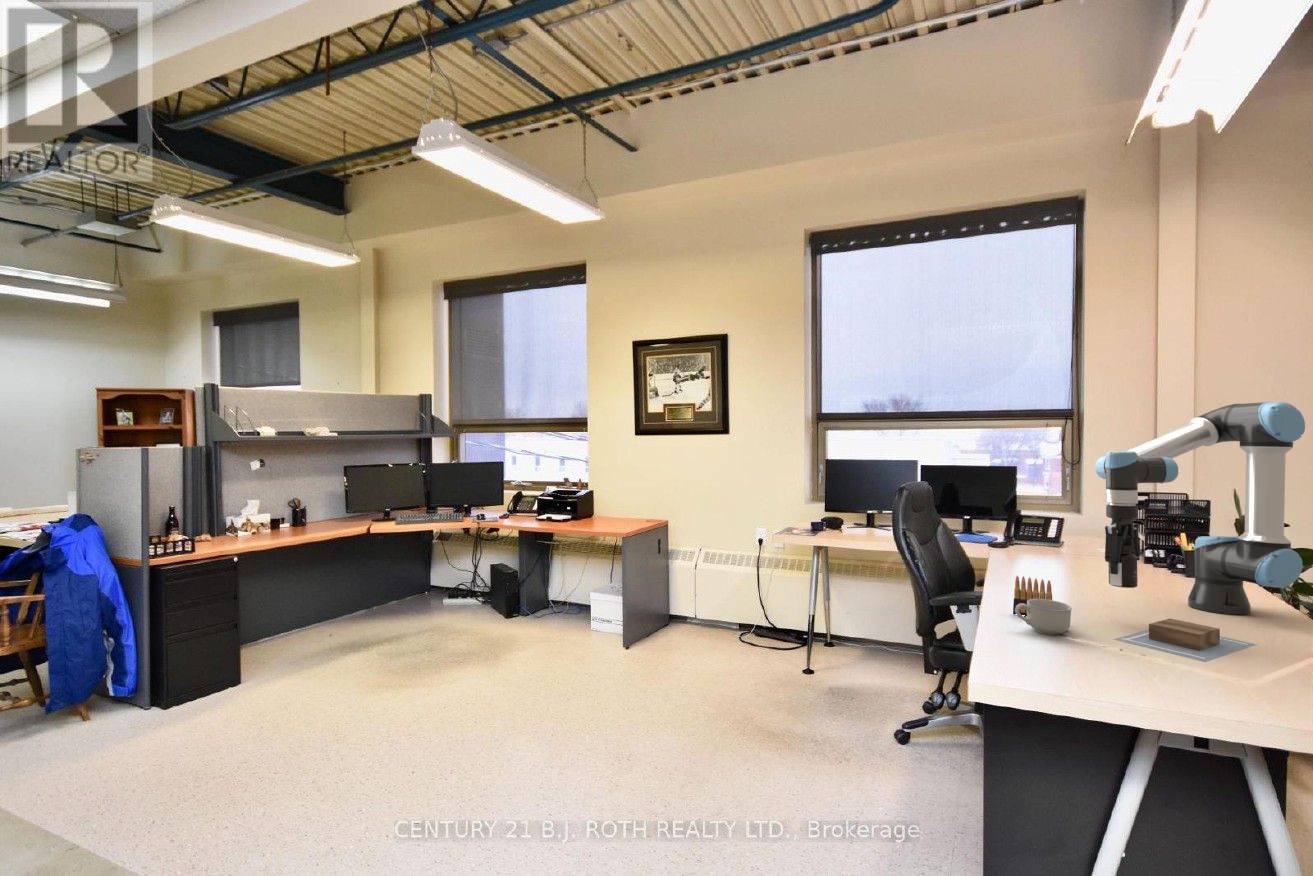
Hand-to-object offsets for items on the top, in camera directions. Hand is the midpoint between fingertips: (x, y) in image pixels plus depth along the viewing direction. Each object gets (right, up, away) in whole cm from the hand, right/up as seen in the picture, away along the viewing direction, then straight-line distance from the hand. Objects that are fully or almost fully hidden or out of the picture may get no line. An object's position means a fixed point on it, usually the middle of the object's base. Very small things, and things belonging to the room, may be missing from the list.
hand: (1122, 583), depth 190 cm
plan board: (+2, -12, -19) cm, 23 cm away
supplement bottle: (0, -1, 0) cm, 1 cm away
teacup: (-27, -12, -7) cm, 31 cm away
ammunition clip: (-22, -12, +8) cm, 26 cm away
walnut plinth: (+2, -11, -19) cm, 22 cm away
